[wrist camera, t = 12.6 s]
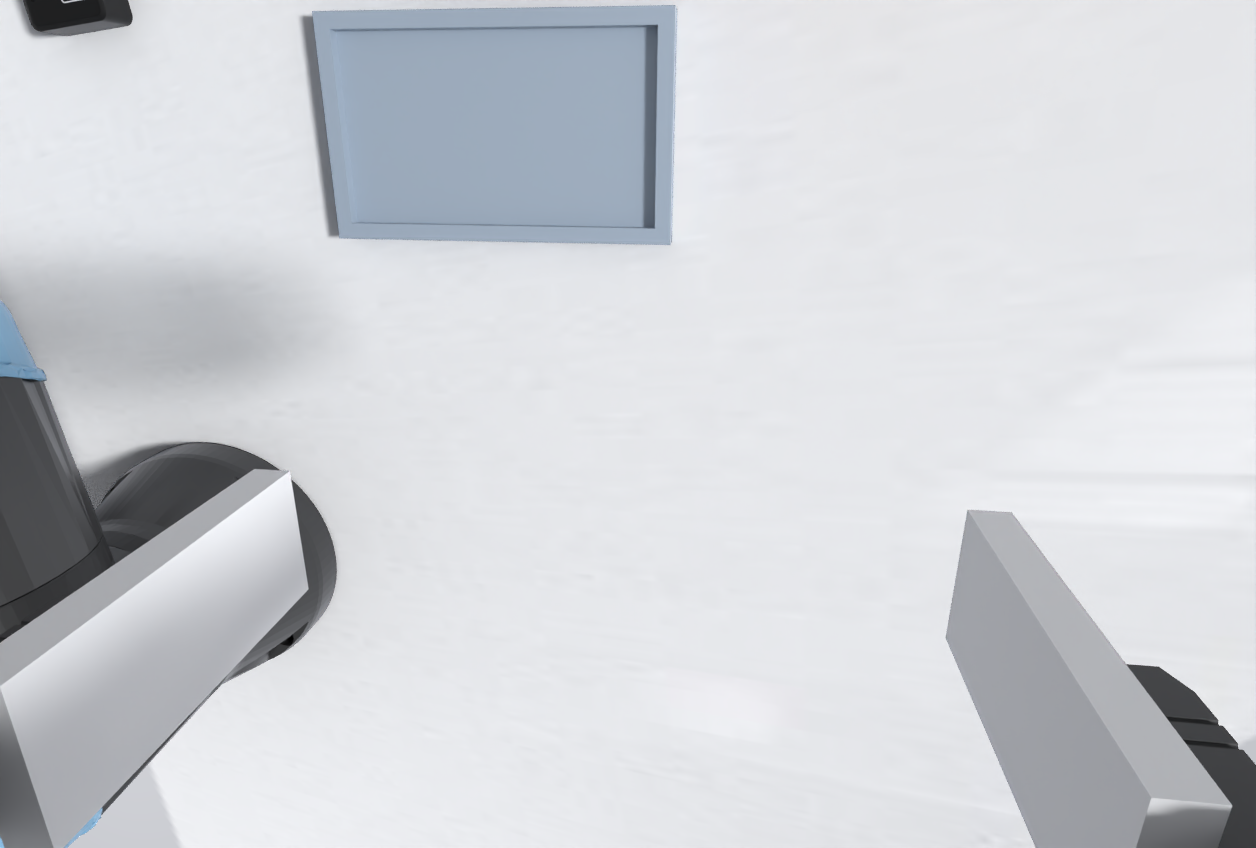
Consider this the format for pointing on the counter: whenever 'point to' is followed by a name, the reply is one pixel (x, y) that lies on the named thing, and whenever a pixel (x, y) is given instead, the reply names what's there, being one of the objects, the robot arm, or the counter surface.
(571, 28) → the tray
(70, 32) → the multiport hub
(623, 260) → the counter surface
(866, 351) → the counter surface
